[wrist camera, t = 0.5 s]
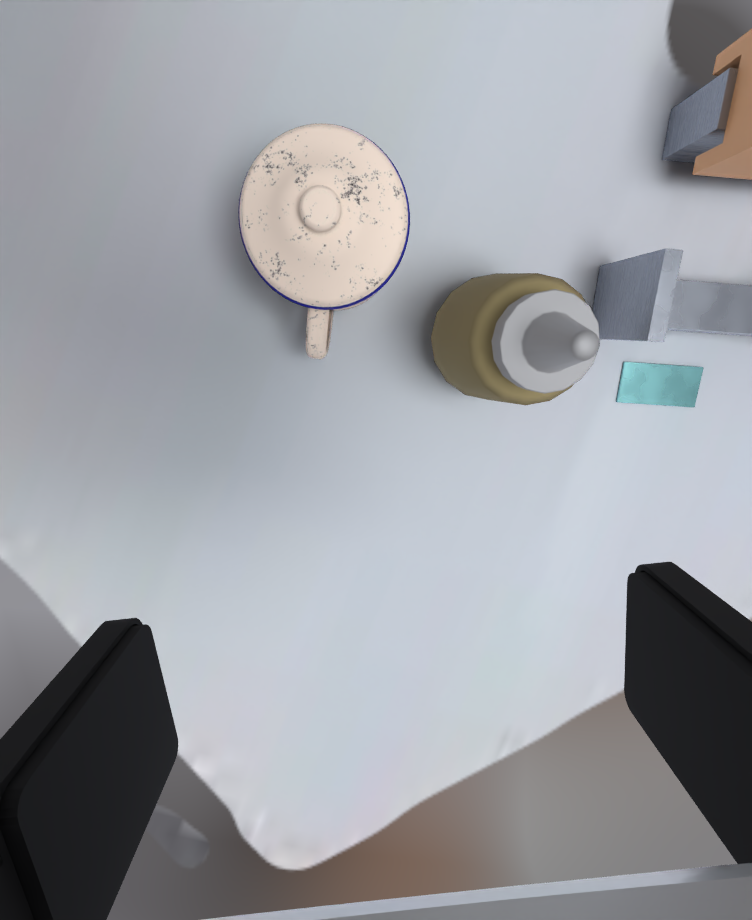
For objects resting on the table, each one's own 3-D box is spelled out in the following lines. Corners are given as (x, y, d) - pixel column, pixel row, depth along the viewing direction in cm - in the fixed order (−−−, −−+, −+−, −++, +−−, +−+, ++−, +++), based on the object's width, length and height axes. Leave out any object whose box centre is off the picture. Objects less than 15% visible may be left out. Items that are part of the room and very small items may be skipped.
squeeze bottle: (401, 336, 37) (437, 343, 19) (484, 253, 35) (603, 181, 18) (474, 414, 38) (568, 486, 21) (556, 338, 37) (729, 347, 20)
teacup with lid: (272, 163, 34) (227, 80, 22) (407, 183, 34) (429, 112, 23) (260, 346, 37) (214, 354, 25) (384, 362, 37) (393, 377, 26)
